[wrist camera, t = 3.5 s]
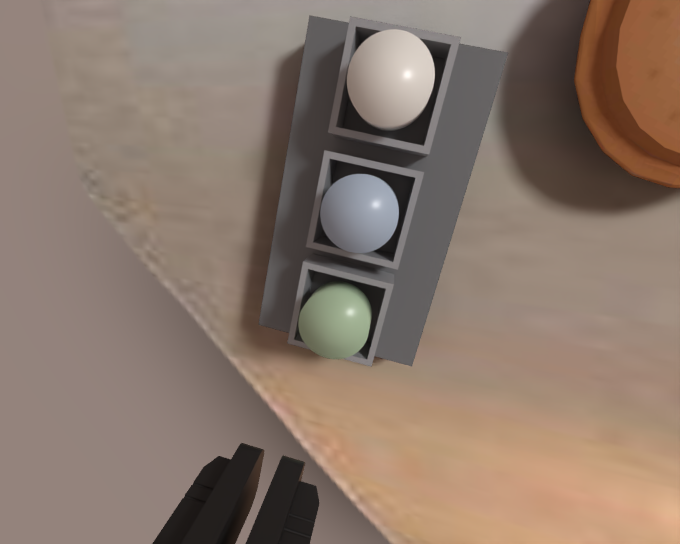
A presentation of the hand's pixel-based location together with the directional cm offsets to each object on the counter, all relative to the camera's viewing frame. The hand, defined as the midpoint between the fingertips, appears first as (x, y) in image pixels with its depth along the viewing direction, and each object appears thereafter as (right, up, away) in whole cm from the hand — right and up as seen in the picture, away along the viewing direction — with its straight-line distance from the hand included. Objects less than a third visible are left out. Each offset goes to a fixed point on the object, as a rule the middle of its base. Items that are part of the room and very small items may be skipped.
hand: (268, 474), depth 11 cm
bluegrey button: (+4, +10, +11) cm, 16 cm away
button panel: (+4, +11, +16) cm, 20 cm away
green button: (+2, +4, +13) cm, 14 cm away
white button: (+5, +17, +9) cm, 20 cm away
